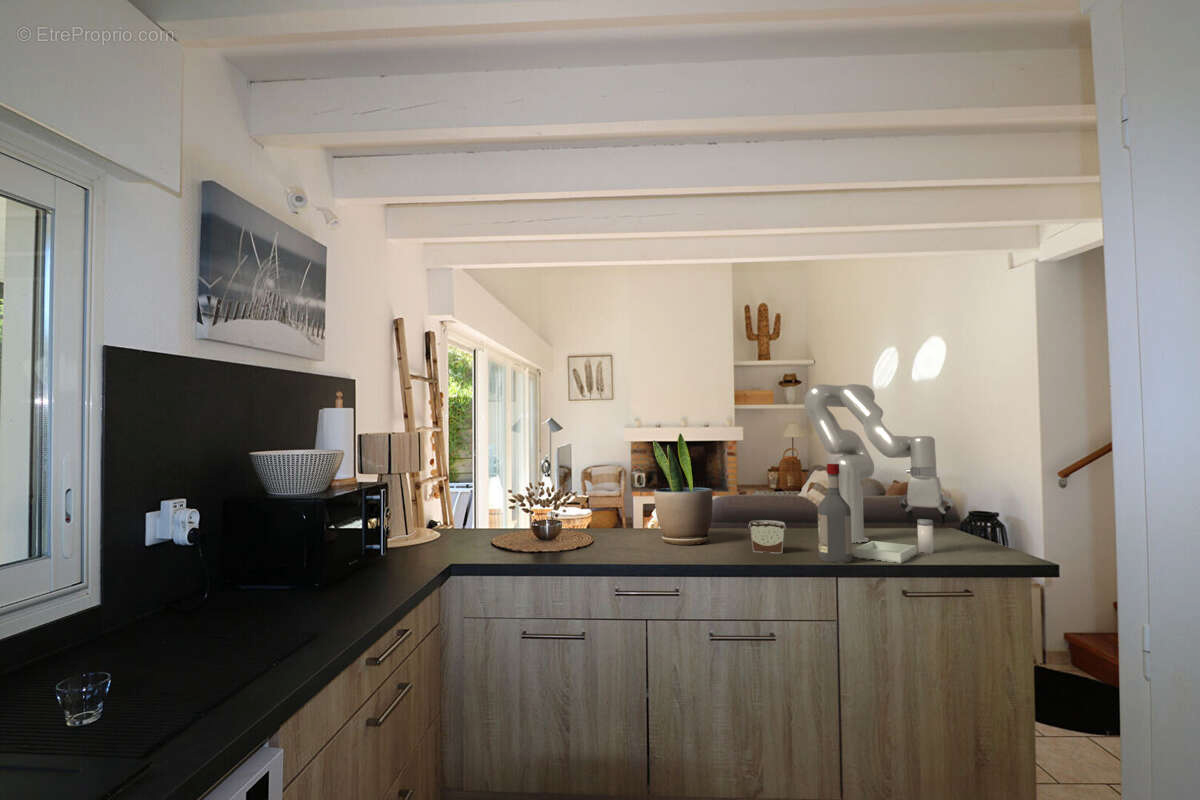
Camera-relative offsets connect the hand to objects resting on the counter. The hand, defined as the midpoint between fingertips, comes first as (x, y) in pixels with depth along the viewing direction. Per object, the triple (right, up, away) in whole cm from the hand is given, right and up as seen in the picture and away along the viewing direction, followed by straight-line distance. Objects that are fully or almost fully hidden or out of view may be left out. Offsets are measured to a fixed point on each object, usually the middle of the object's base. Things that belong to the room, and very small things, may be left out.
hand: (926, 524), depth 209 cm
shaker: (0, -9, 0) cm, 9 cm away
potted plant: (-78, -11, +21) cm, 82 cm away
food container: (-52, -10, +3) cm, 53 cm away
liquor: (-36, -9, -13) cm, 39 cm away
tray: (-17, -9, -7) cm, 20 cm away
